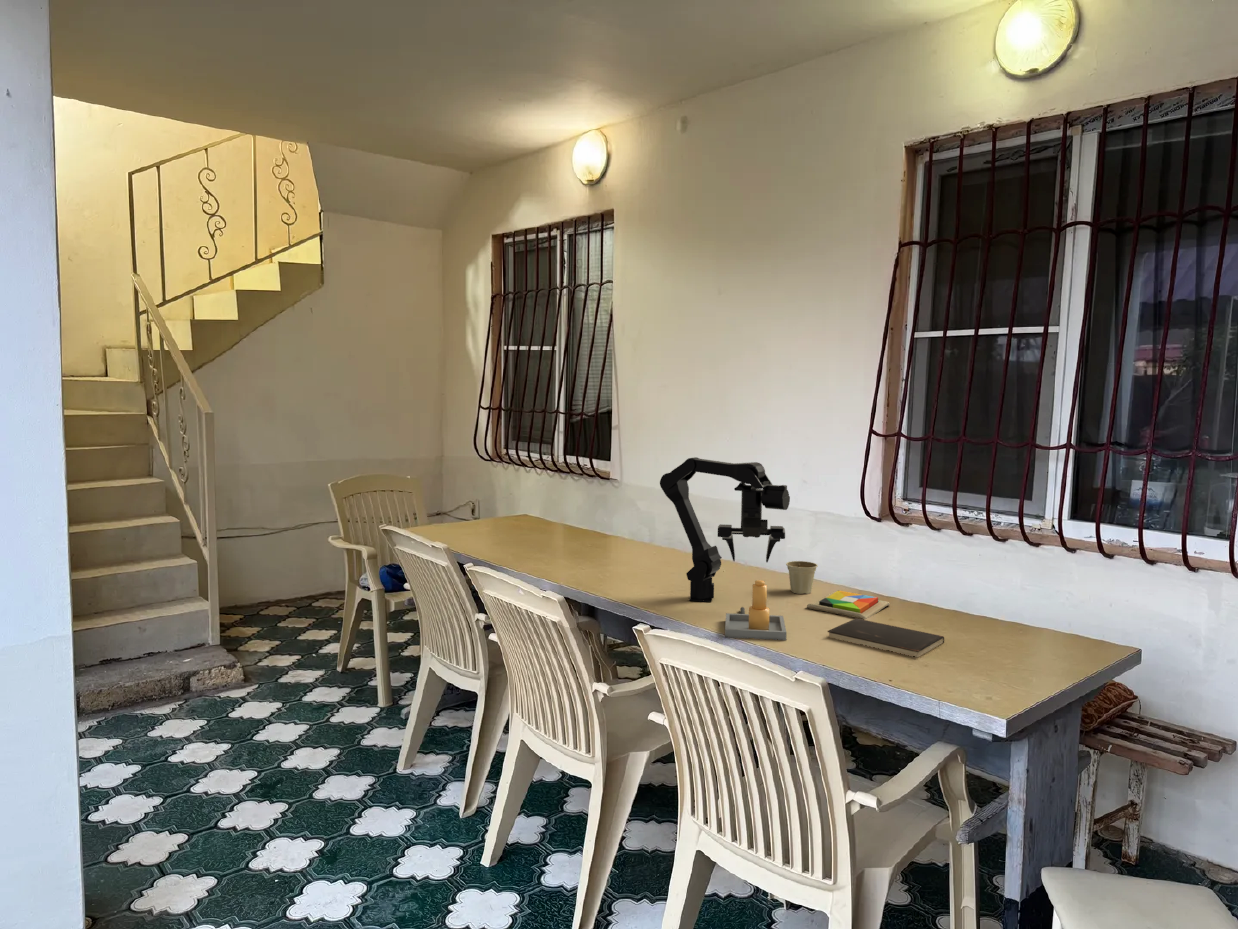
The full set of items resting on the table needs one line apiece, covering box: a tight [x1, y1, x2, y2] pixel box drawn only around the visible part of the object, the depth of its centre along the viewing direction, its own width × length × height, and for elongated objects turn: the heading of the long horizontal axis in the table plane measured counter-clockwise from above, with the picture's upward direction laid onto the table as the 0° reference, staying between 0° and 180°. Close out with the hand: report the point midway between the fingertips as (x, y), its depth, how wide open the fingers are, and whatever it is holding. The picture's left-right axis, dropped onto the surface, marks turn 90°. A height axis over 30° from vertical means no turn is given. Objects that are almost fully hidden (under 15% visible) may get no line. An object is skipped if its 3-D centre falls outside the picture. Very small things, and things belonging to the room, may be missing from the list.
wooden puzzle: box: [806, 590, 891, 620], centre depth 232 cm, size 18×19×4 cm
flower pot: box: [785, 560, 819, 595], centre depth 249 cm, size 9×9×9 cm
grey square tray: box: [724, 612, 787, 641], centre depth 209 cm, size 15×15×2 cm
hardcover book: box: [827, 618, 945, 658], centre depth 201 cm, size 16×23×2 cm
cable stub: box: [739, 606, 746, 614], centre depth 222 cm, size 1×10×1 cm, turn 172°
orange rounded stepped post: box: [748, 579, 771, 630], centre depth 207 cm, size 5×5×12 cm
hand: (750, 561), depth 230 cm, fingers open, 9 cm apart
